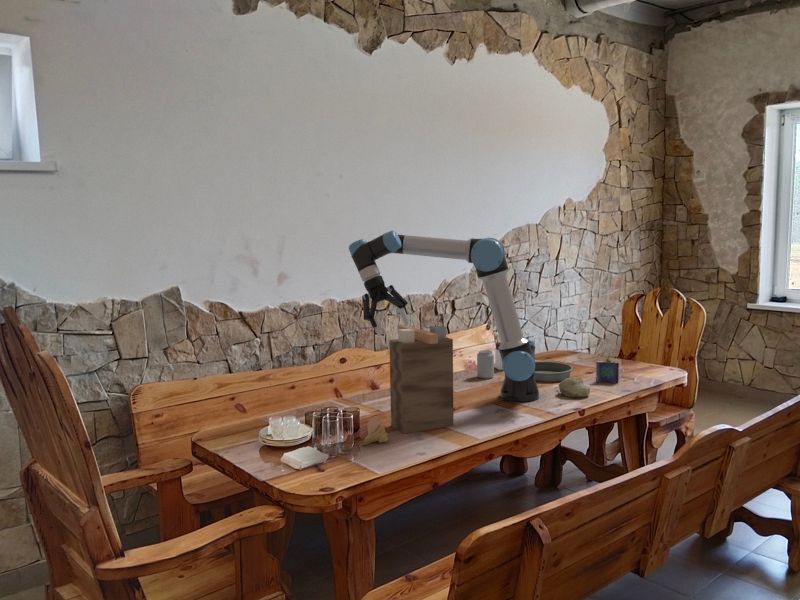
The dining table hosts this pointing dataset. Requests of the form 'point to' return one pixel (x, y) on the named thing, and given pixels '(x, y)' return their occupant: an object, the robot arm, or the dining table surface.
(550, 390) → the dining table surface
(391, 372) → the walnut stand
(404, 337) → the cream cube
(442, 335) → the slate cube
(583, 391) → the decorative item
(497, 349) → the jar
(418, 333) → the terracotta stick
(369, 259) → the robot arm
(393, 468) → the dining table surface
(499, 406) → the dining table surface
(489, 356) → the can
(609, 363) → the dark small block
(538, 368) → the cake pan
